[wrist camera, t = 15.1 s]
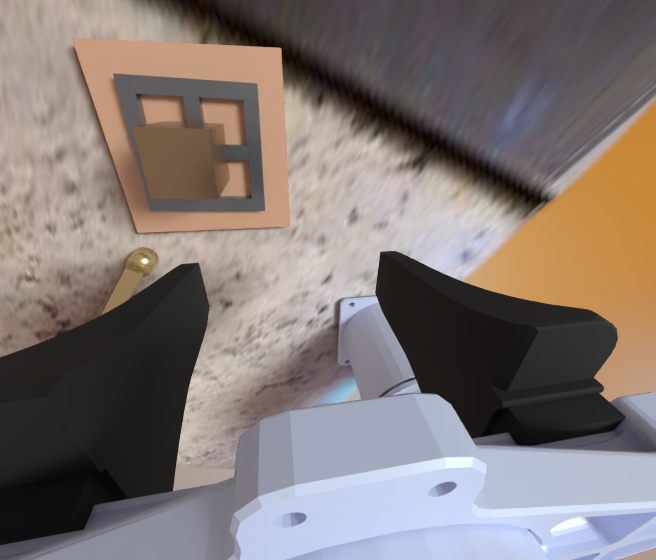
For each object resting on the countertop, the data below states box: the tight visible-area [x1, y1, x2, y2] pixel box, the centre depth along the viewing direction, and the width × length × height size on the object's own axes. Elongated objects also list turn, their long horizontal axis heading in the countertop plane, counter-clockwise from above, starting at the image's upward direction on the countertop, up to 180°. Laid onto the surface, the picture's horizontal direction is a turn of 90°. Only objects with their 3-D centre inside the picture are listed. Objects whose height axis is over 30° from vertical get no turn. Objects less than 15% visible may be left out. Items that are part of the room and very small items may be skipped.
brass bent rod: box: [100, 247, 158, 316], centre depth 22 cm, size 6×12×2 cm, turn 179°
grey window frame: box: [113, 73, 265, 211], centre depth 15 cm, size 7×7×5 cm
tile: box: [72, 38, 290, 233], centre depth 18 cm, size 10×10×1 cm
